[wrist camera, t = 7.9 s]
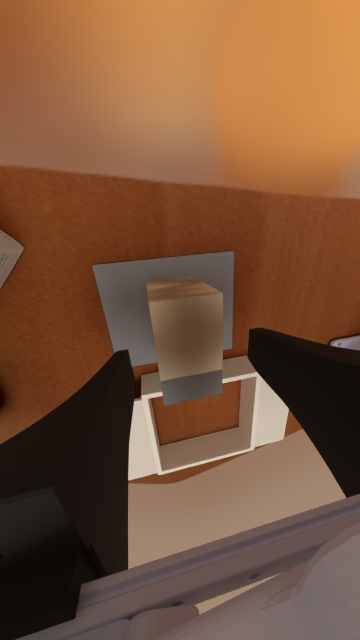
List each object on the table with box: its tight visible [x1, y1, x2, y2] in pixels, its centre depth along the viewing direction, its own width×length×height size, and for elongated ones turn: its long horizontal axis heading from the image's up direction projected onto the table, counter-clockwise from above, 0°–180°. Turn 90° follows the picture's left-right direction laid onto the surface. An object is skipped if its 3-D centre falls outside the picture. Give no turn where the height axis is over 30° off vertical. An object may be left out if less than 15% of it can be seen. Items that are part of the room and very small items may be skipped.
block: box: [146, 276, 223, 406], centre depth 14 cm, size 4×7×7 cm, turn 4°
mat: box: [92, 251, 234, 367], centre depth 17 cm, size 12×10×1 cm
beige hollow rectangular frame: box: [128, 355, 289, 481], centre depth 21 cm, size 20×12×3 cm, turn 94°
